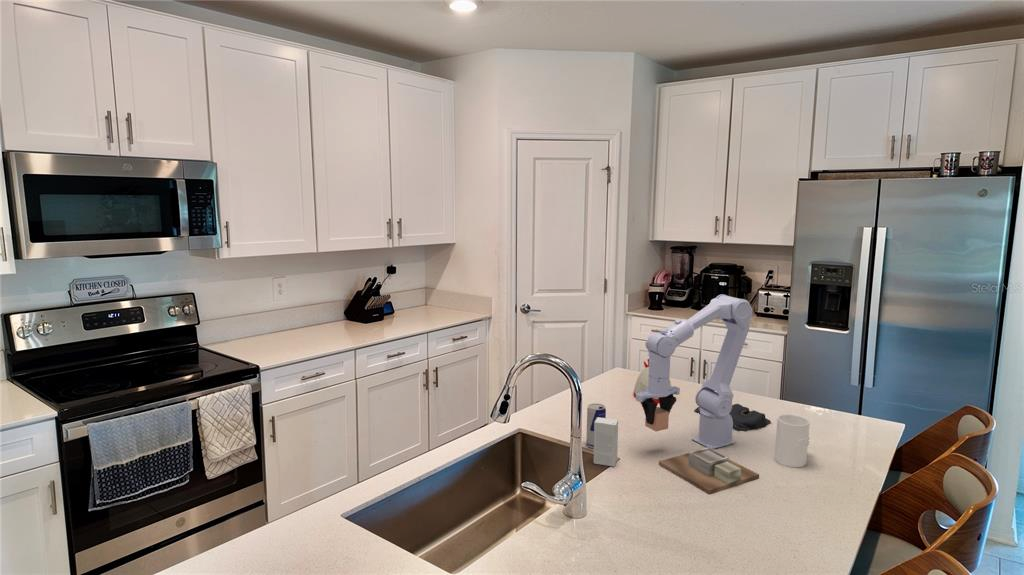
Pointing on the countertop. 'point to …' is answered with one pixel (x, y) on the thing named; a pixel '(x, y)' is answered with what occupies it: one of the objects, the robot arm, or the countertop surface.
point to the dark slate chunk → (745, 418)
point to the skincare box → (605, 441)
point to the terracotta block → (659, 420)
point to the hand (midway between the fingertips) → (656, 421)
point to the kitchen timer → (644, 382)
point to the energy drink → (592, 415)
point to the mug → (792, 440)
